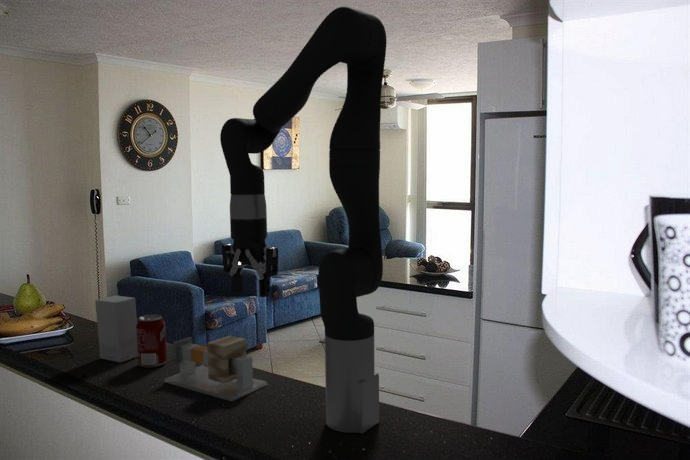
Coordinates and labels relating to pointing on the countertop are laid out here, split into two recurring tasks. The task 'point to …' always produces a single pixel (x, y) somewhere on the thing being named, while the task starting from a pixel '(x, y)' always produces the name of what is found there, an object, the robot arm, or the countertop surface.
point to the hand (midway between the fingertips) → (250, 294)
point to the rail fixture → (198, 376)
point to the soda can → (151, 341)
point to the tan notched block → (224, 357)
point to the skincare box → (117, 328)
